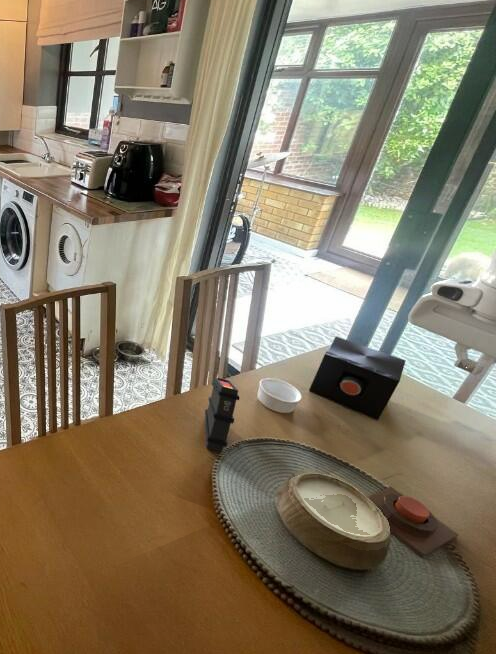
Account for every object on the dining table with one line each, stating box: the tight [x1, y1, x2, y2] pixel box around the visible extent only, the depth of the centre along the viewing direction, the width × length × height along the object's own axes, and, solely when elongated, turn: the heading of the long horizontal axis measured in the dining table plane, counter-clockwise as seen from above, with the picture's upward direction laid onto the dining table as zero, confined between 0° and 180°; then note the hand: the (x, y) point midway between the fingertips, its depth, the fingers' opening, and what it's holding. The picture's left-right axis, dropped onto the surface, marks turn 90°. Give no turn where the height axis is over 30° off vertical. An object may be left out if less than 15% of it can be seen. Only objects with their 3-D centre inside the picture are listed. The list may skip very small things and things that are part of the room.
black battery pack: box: [204, 376, 240, 454], centre depth 93 cm, size 4×13×15 cm, turn 155°
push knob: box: [340, 376, 363, 395], centre depth 100 cm, size 3×4×4 cm
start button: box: [395, 495, 430, 523], centre depth 73 cm, size 4×4×2 cm
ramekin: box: [257, 377, 303, 414], centre depth 103 cm, size 9×9×4 cm
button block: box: [367, 486, 459, 559], centre depth 74 cm, size 10×10×4 cm
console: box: [308, 336, 407, 421], centre depth 105 cm, size 12×14×12 cm
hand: (466, 369), depth 74 cm, fingers closed
